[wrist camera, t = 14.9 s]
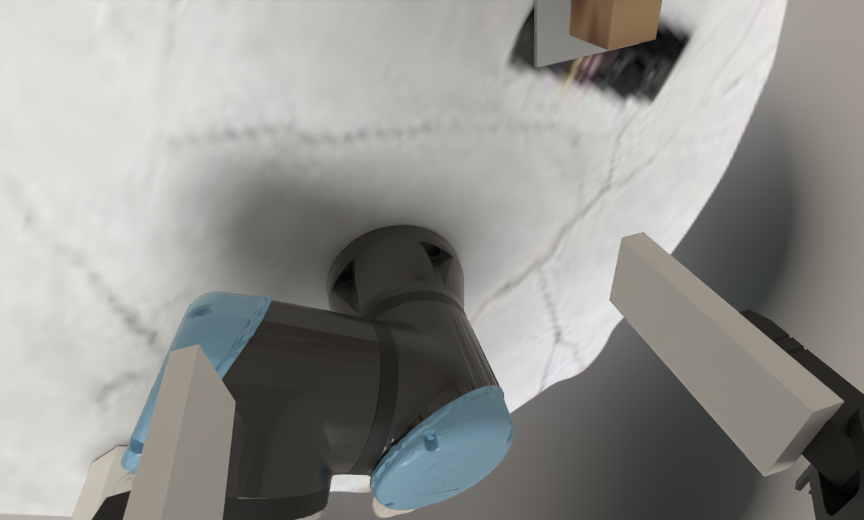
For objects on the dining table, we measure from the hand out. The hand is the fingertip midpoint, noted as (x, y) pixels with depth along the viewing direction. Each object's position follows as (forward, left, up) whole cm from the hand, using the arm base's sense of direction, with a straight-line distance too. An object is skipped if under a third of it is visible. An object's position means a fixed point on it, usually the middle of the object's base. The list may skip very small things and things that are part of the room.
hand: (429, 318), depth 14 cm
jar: (-41, +39, -29) cm, 64 cm away
